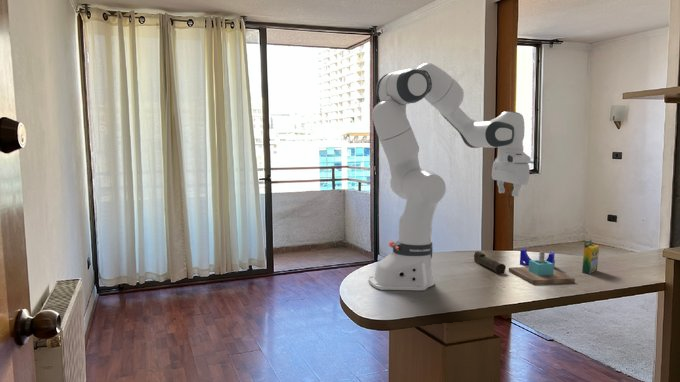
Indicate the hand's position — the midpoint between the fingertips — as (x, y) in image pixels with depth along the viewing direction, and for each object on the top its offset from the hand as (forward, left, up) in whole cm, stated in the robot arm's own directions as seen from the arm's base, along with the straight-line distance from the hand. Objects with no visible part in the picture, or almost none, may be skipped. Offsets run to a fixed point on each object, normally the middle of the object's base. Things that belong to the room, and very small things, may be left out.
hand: (508, 194), depth 179 cm
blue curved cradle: (+18, +6, -30) cm, 35 cm away
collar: (+10, -8, -28) cm, 30 cm away
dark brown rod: (-4, +7, -30) cm, 31 cm away
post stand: (+10, -8, -29) cm, 32 cm away
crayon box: (+33, -4, -29) cm, 44 cm away
